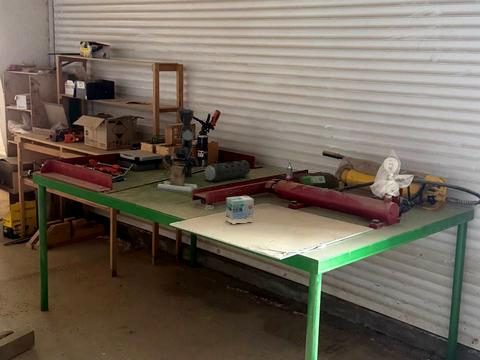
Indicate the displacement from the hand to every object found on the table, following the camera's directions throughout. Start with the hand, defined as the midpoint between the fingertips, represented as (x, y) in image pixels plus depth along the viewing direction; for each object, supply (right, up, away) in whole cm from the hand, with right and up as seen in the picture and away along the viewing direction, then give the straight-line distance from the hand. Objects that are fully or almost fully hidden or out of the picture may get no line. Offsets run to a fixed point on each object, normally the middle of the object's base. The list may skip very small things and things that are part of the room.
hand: (176, 173), depth 309 cm
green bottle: (+70, -10, +8) cm, 71 cm away
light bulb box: (+34, -22, -52) cm, 66 cm away
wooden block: (0, -6, +3) cm, 7 cm away
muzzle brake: (+26, -3, +31) cm, 41 cm away
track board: (0, -8, +3) cm, 9 cm away
